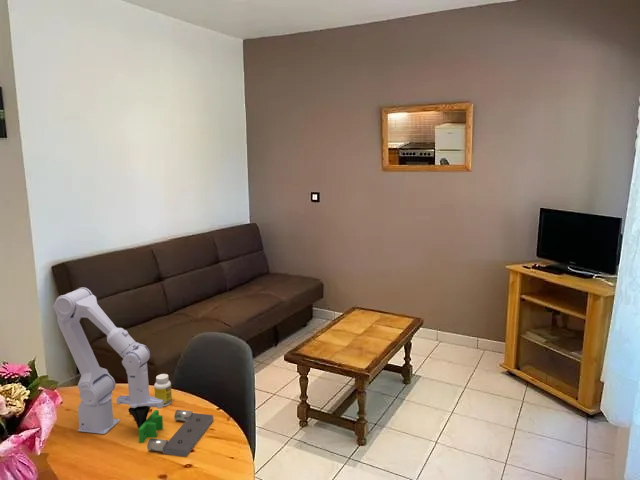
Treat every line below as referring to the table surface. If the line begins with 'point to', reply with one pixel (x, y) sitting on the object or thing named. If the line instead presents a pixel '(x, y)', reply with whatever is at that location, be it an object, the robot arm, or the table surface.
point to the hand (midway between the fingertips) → (141, 426)
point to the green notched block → (151, 426)
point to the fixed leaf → (183, 434)
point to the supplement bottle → (163, 389)
